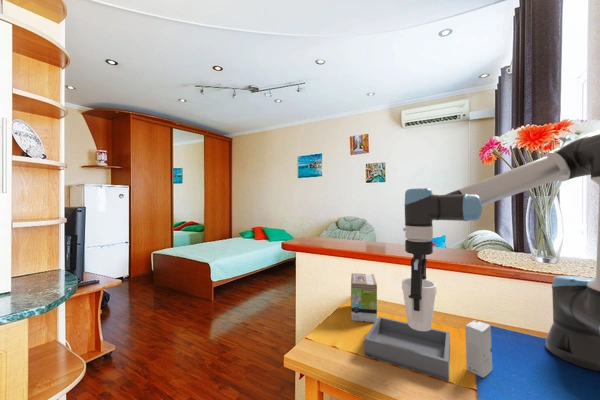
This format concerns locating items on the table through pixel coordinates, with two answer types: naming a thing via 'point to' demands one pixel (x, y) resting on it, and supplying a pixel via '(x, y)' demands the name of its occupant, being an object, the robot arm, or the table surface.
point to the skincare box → (478, 348)
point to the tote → (409, 347)
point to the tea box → (363, 297)
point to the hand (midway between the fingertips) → (419, 314)
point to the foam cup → (427, 303)
